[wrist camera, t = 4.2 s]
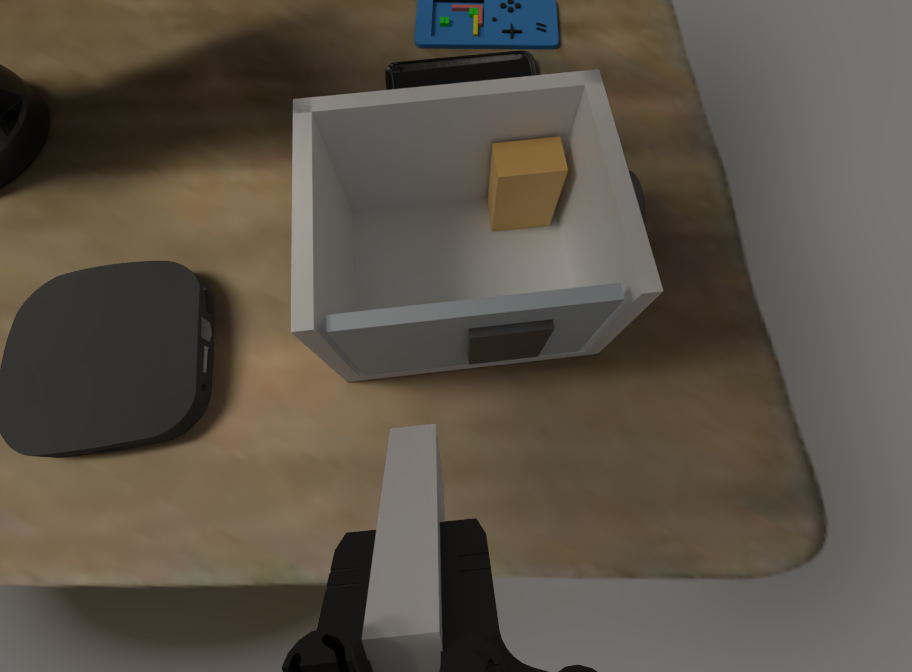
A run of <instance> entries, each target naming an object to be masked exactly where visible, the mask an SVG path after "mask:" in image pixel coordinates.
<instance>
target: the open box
mask: <svg viewBox="0 0 912 672" xmlns="http://www.w3.org/2000/svg"><path fill="white" fill-rule="evenodd" d="M644 222H645V205H644V197H643V192H642V188H641V185H640V183H639V180H638V178H637V177H636V175H635V174H634V173H633V172H631V171H629V170H628V167H627V164H626V160H625V157H624V153H623V150H622V147H621V143H620V140H619V136H618V133H617V129H616V126H615V122H614V119H613V116H612V112H611V109H610V105H609V102H608V98H607V95H606V91H605V88H604V84H603V81H602V78H601V74H600V71H599V69H597V70H587V71H577V72H566V73H556V74H546V75H536V76H525V77H515V78H505V79H494V80H484V81H474V82H464V83H453V84H443V85H433V86H423V87H412V88H402V89H392V90H382V91H371V92H361V93H351V94H341V95H330V96H320V97H310V98H300V99H293V156H292V268H291V333H293V334H294V335H295V336H296V337H297V338H298V339H299V340H300V341H302V342H303V343H304V344H305V345H306V346H307V347H308V348H309V349H311V350H312V351H313V352H314V353H315V354H316V355H317V356H318V357H320V358H321V359H322V360H323V361H324V362H325V363H326V364H327V365H329V366H330V367H331V368H332V369H333V370H334V371H335V372H336V373H338V374H339V375H340V376H341V377H342V378H343V379H344V380H345V381H347V382H354V381H363V380H371V379H380V378H389V377H398V376H407V375H416V374H425V373H433V372H442V371H451V370H460V369H469V368H478V367H487V366H495V365H504V364H513V363H522V362H531V361H540V360H549V359H558V358H566V357H575V356H584V355H593V354H598V353H599V352H601V351H602V350H603V349H604V348H605V347H606V346H607V345H608V344H609V343H610V342H611V341H612V340H613V339H614V338H615V337H616V336H617V335H618V334H619V333H620V332H621V331H622V330H623V329H624V328H626V327H627V326H628V325H629V324H630V323H631V322H632V321H633V320H634V319H635V318H636V317H637V316H638V315H639V314H640V313H641V312H642V311H643V310H644V309H645V308H646V307H647V306H648V305H650V304H651V303H652V302H653V301H654V300H655V299H656V298H657V297H658V296H659V295H660V294H661V293H662V292H663V288H662V285H661V281H660V278H659V274H658V271H657V267H656V264H655V260H654V257H653V254H652V250H651V247H650V243H649V240H648V236H647V233H646V229H645V226H644ZM614 283H621V287H622V291H623V295H624V300H623V302H622V303H621V304H620V305H619V306H618V307H617V308H616V309H615V311H614V312H613V313H612V314H611V315H610V316H609V317H608V319H607V320H606V321H605V322H604V323H603V324H602V325H601V327H600V328H599V329H598V330H597V331H596V332H595V333H594V335H593V336H592V337H591V338H590V339H589V340H588V341H587V343H586V344H585V345H584V346H583V347H582V348H581V349H580V351H577V352H568V353H559V354H551V355H542V356H538V357H532V358H523V359H515V360H506V361H497V362H488V363H479V364H470V365H469V364H462V365H453V366H444V367H435V368H426V369H417V370H408V371H400V372H391V373H382V374H373V375H364V374H363V372H362V371H361V370H360V369H359V368H358V367H357V366H356V365H355V363H354V362H353V361H352V360H351V359H350V358H349V357H348V356H347V354H346V353H345V352H344V351H343V350H342V349H341V348H340V347H339V346H338V344H337V343H336V342H335V341H334V340H333V339H332V338H331V337H330V335H329V334H328V333H327V332H326V315H330V314H339V313H348V312H357V311H366V310H375V309H385V308H394V307H403V306H412V305H421V304H430V303H440V302H449V301H458V300H467V299H476V298H485V297H494V296H504V295H513V294H522V293H531V292H540V291H549V290H559V289H568V288H577V287H586V286H595V285H604V284H614Z"/></svg>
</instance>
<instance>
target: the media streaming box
mask: <svg viewBox="0 0 912 672" xmlns="http://www.w3.org/2000/svg"><path fill="white" fill-rule="evenodd" d="M209 351H210V353H209ZM213 351H214V309H213V296H212V293H211V290H210V288H209V287H208V285H207V284H206V283H205V282H204V281H203V280H202V279H201V278H199V277H198V276H197V275H196V274H194V273H193V272H192V271H190V270H189V269H188V268H186V267H185V266H183V265H180V264H178V263H175V262H170V261H144V262H130V263H121V264H112V265H106V266H99V267H94V268H89V269H84V270H79V271H75V272H71V273H67V274H64V275H60V276H58V277H55V278H54V279H52V280H50V281H48V282H47V283H45V284H44V285H42V286H41V287H40V288H39V289H37V290H36V291H35V292H34V293H33V294H32V295H31V296H30V297H29V298H28V299H27V300H26V301H25V302H24V304H23V305H22V306H21V308H20V309H19V311H18V312H17V314H16V317H15V319H14V321H13V324H12V327H11V330H10V333H9V336H8V339H7V342H6V346H5V350H4V354H3V358H2V363H1V369H0V433H1V435H2V437H3V439H4V440H5V442H6V443H7V444H8V445H9V446H10V447H11V448H12V449H13V450H15V451H17V452H18V453H21V454H23V455H27V456H39V457H55V458H57V457H68V456H77V455H86V454H94V453H101V452H108V451H114V450H121V449H126V448H132V447H138V446H143V445H148V444H153V443H158V442H162V441H167V440H171V439H174V438H176V437H178V436H180V435H182V434H183V433H185V432H186V431H188V430H189V429H190V428H191V427H192V426H193V425H194V424H195V423H196V422H197V421H198V420H199V419H200V417H201V416H202V415H203V413H204V411H205V409H206V407H207V405H208V403H209V400H210V396H211V385H212V371H213ZM208 370H209V371H208Z"/></svg>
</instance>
